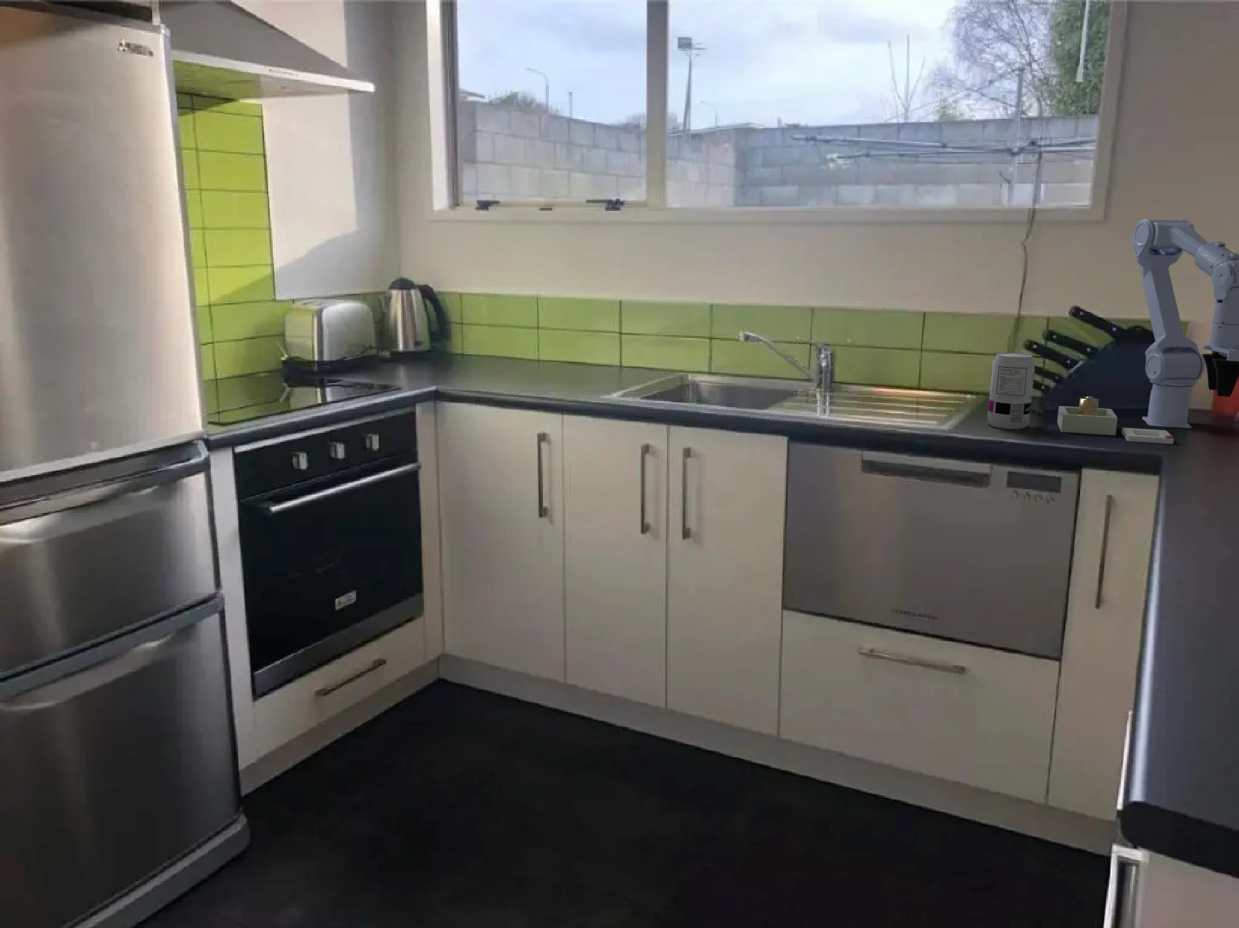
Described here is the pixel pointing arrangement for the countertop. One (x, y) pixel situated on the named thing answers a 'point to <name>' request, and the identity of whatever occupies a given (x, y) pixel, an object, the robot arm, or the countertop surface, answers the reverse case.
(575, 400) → the countertop surface
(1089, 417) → the grey-green square tray
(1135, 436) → the white square recessed tray
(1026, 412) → the supplement can
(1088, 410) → the cell
